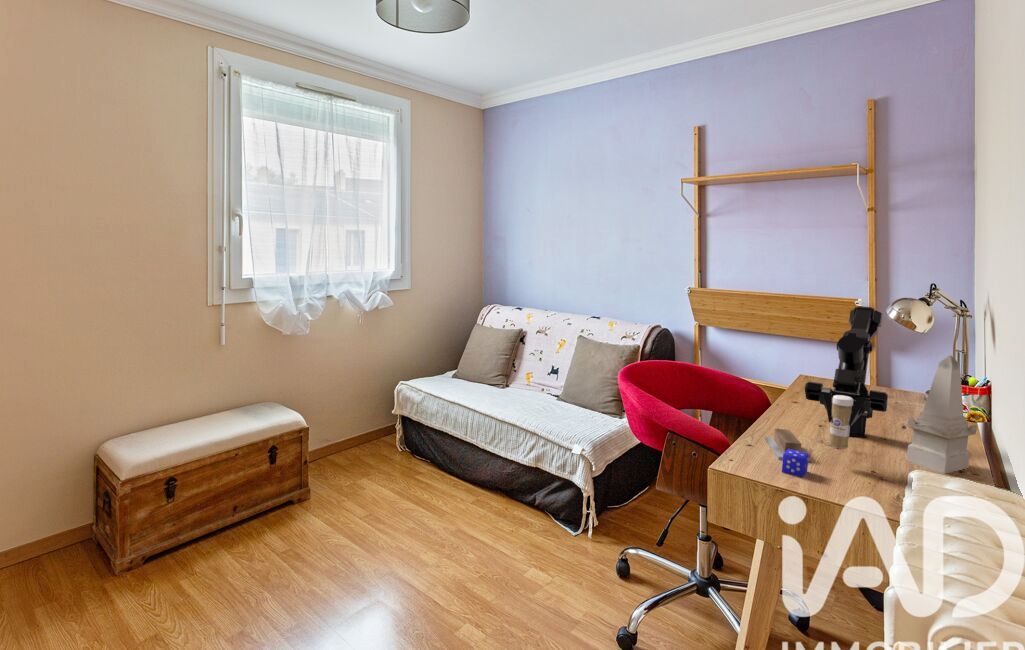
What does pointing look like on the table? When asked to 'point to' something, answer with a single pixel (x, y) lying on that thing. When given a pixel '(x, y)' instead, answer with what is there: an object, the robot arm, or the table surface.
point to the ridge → (783, 443)
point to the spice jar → (840, 421)
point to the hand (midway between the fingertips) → (839, 423)
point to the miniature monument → (942, 424)
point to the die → (795, 462)
